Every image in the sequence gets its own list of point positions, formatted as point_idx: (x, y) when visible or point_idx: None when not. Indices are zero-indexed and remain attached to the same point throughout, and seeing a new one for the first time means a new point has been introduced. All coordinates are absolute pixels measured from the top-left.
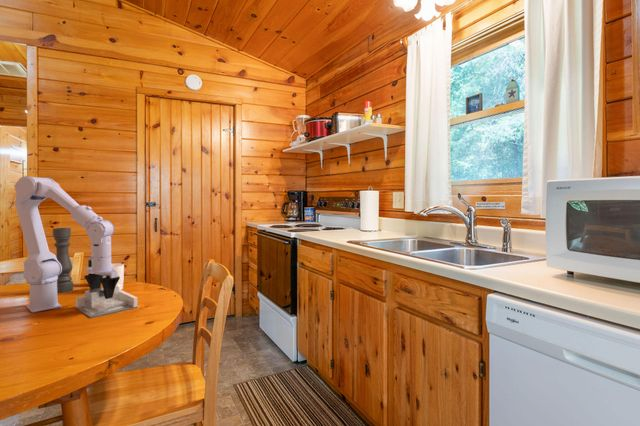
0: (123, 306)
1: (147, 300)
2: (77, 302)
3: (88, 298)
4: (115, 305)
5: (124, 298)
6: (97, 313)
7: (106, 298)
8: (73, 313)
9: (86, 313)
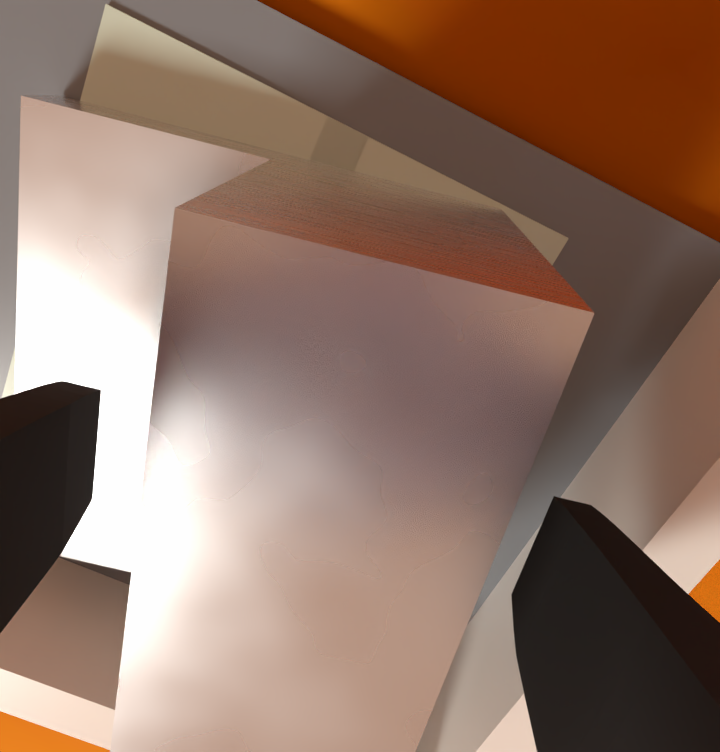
0: None
1: (68, 744)
2: None
3: (378, 219)
4: None
5: None
6: (81, 87)
7: (51, 384)
8: (579, 7)
9: (266, 18)
